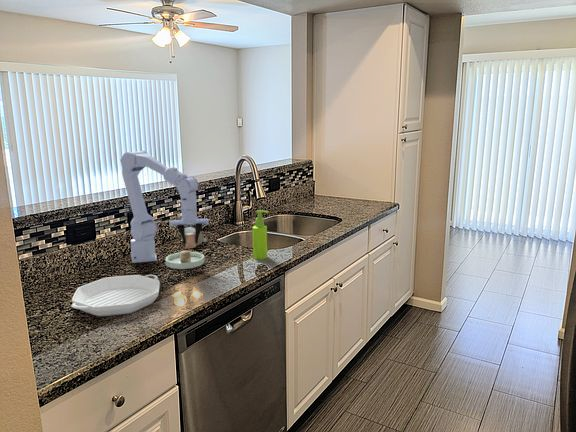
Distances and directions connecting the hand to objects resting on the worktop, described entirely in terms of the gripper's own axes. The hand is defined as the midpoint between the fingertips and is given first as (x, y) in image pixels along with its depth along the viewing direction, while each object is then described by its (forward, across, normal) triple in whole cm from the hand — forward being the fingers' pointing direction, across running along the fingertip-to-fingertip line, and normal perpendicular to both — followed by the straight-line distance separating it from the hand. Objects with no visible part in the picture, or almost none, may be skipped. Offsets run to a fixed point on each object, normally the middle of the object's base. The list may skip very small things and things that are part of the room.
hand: (190, 243), depth 175 cm
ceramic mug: (+10, +4, +31) cm, 33 cm away
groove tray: (+9, -2, +4) cm, 11 cm away
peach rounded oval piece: (+1, 0, 0) cm, 1 cm away
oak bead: (+9, -2, +1) cm, 9 cm away
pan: (+10, -25, -29) cm, 39 cm away
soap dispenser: (+9, +29, +3) cm, 30 cm away
